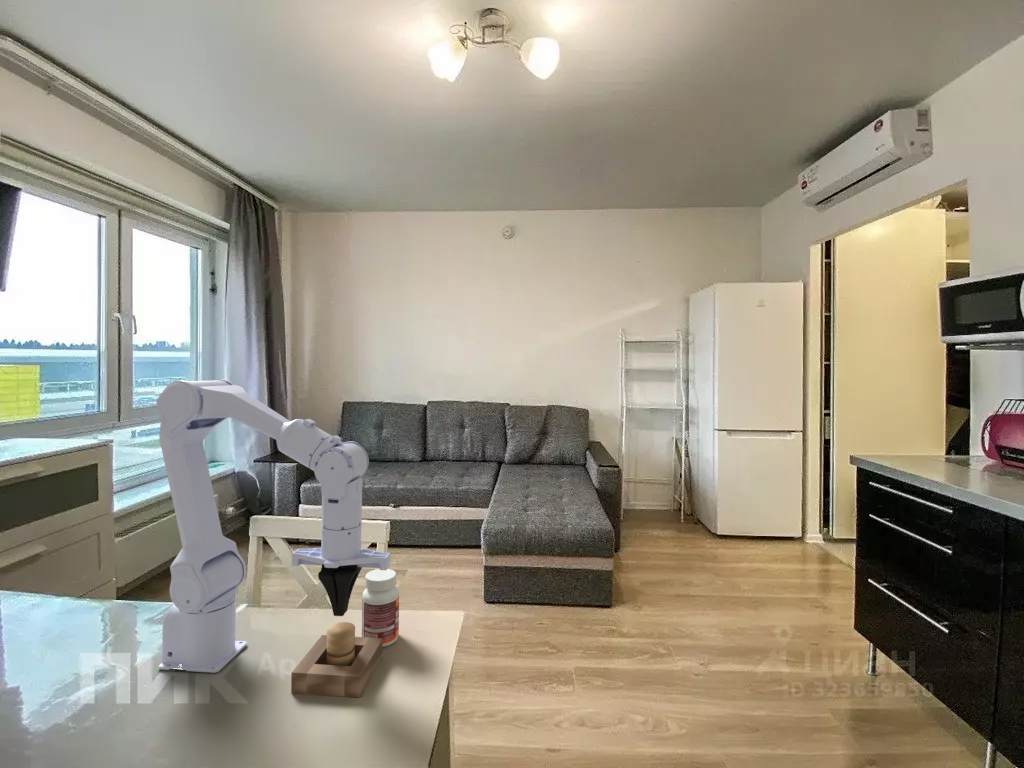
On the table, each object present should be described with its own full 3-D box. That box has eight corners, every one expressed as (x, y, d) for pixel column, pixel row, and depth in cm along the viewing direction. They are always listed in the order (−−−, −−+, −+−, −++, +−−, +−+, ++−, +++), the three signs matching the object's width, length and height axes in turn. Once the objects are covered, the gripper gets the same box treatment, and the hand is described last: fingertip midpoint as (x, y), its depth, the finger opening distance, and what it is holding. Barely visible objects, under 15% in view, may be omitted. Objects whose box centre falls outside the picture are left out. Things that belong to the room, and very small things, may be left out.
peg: (321, 681, 74) (322, 635, 74) (333, 665, 78) (334, 621, 78) (347, 683, 73) (348, 637, 73) (358, 667, 78) (359, 623, 77)
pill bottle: (403, 642, 85) (405, 577, 84) (367, 653, 81) (369, 585, 81) (391, 626, 90) (392, 564, 89) (356, 635, 86) (357, 571, 86)
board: (291, 693, 71) (291, 672, 71) (322, 652, 81) (322, 634, 81) (359, 697, 70) (360, 676, 70) (382, 656, 80) (382, 638, 80)
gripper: (281, 530, 71) (280, 623, 72) (380, 535, 71) (379, 629, 71) (304, 516, 78) (303, 600, 79) (395, 520, 78) (393, 605, 78)
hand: (340, 612), depth 75 cm, fingers closed
